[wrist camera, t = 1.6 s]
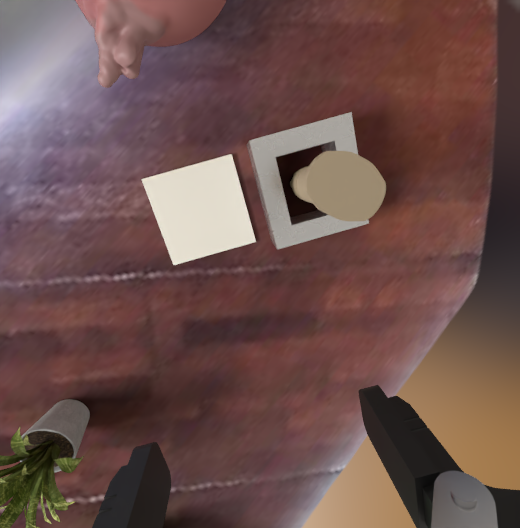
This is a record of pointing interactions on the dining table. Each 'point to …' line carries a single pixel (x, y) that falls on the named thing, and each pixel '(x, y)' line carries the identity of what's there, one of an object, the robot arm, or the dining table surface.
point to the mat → (200, 209)
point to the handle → (341, 185)
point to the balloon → (142, 29)
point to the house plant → (42, 462)
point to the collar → (270, 186)
